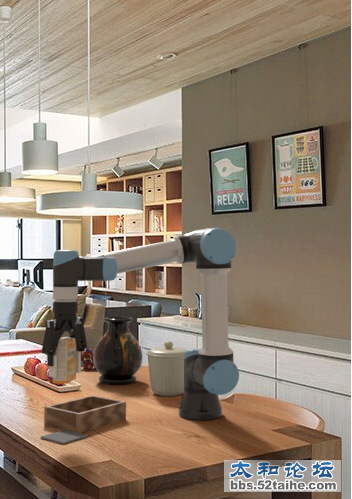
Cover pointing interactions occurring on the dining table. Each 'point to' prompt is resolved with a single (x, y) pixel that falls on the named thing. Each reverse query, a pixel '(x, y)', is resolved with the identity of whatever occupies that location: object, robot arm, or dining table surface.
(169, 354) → the canister
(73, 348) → the supplement box
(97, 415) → the crate
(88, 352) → the toy fire truck
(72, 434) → the mat
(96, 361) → the black painted vase
